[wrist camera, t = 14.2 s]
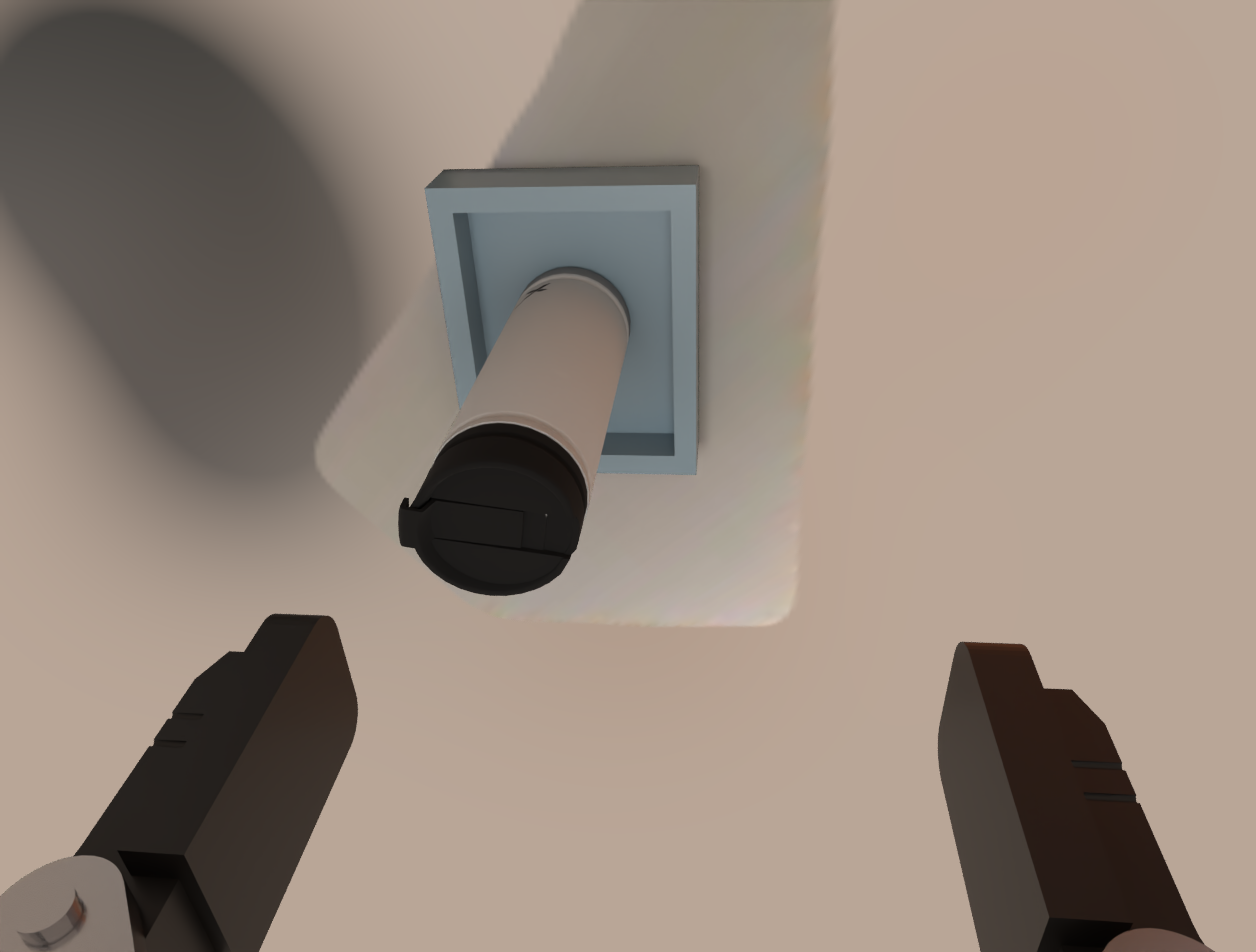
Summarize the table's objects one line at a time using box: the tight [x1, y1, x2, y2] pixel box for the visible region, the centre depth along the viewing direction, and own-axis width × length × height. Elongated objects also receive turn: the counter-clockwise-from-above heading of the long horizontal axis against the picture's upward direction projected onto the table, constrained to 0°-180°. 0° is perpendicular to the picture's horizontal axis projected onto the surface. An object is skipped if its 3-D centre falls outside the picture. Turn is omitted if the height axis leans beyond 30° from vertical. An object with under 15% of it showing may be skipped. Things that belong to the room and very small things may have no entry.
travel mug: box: [398, 267, 631, 596], centre depth 41 cm, size 6×7×20 cm
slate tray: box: [425, 165, 699, 475], centre depth 49 cm, size 16×13×4 cm
